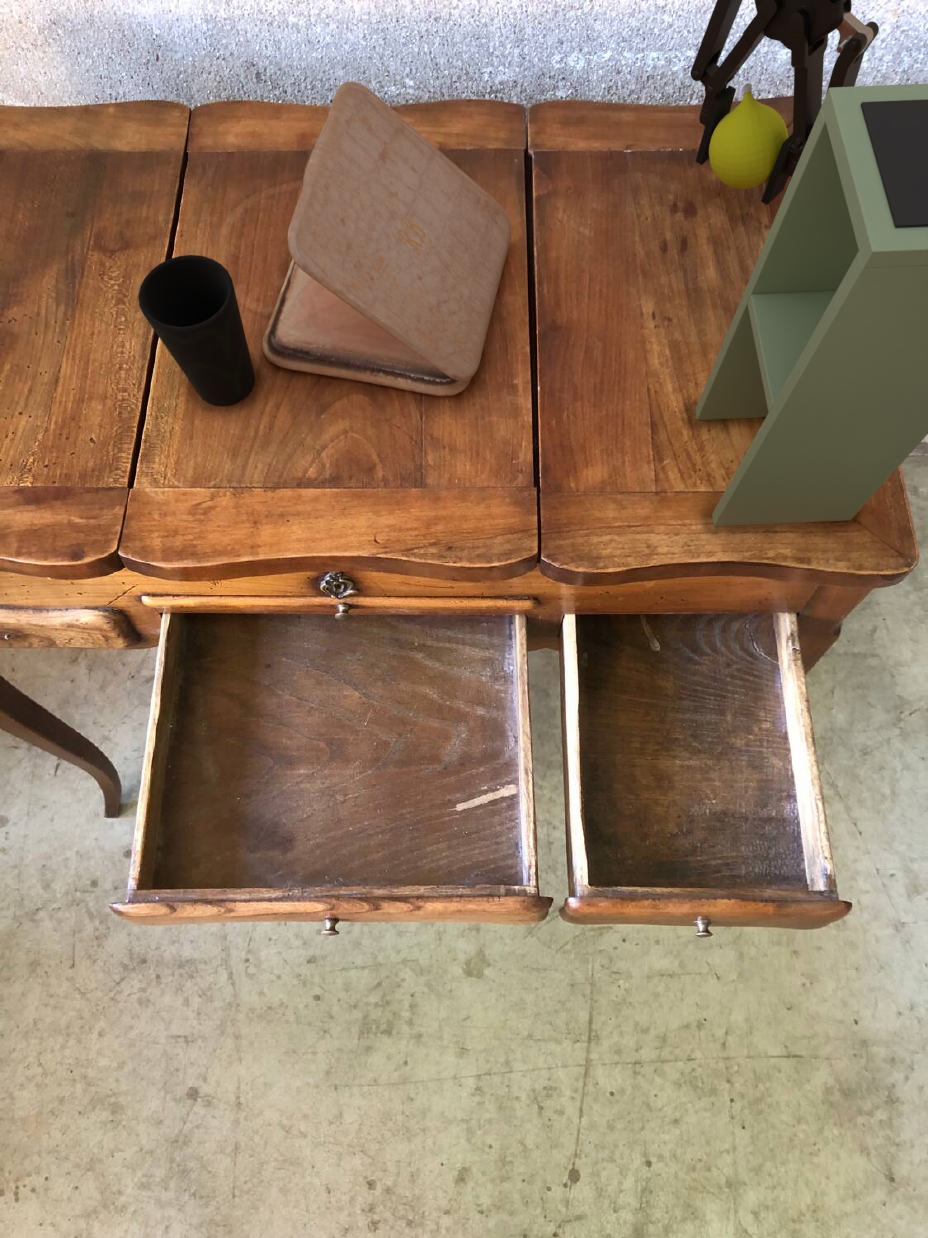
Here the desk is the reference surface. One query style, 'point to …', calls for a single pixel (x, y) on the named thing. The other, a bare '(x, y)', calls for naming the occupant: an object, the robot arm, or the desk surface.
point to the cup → (200, 326)
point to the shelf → (834, 319)
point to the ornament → (747, 143)
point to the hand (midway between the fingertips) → (739, 174)
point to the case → (387, 257)
